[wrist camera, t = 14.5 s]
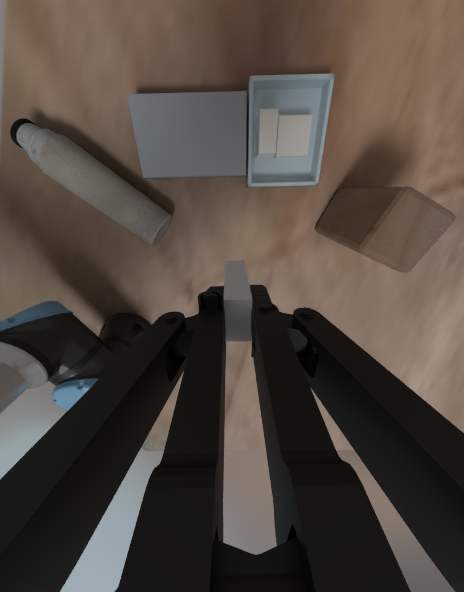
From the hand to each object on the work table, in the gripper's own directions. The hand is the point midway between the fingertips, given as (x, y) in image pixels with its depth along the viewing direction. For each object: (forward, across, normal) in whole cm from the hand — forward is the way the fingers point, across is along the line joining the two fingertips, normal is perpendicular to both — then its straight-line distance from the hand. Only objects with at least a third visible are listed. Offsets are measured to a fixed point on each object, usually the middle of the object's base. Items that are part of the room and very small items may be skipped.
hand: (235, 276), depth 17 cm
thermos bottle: (+30, -15, -1) cm, 34 cm away
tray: (+34, +10, +15) cm, 39 cm away
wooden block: (+35, +26, 0) cm, 43 cm away
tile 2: (+31, +5, +15) cm, 35 cm away
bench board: (+34, -7, +15) cm, 38 cm away
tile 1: (+31, +12, +15) cm, 36 cm away
